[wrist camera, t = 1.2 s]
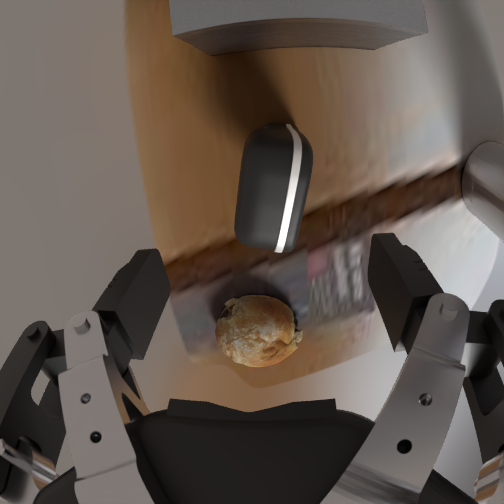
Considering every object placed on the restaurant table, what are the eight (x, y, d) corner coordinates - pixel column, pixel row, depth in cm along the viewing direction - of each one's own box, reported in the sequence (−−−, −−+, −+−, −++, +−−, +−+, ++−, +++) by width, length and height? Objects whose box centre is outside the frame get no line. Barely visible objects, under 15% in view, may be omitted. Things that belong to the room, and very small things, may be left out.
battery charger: (254, 116, 22) (239, 134, 13) (298, 123, 22) (318, 147, 13) (245, 190, 26) (226, 257, 16) (285, 196, 26) (291, 267, 16)
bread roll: (258, 266, 35) (224, 293, 28) (322, 318, 33) (303, 357, 26) (224, 314, 40) (191, 344, 33) (279, 360, 38) (255, 397, 31)
